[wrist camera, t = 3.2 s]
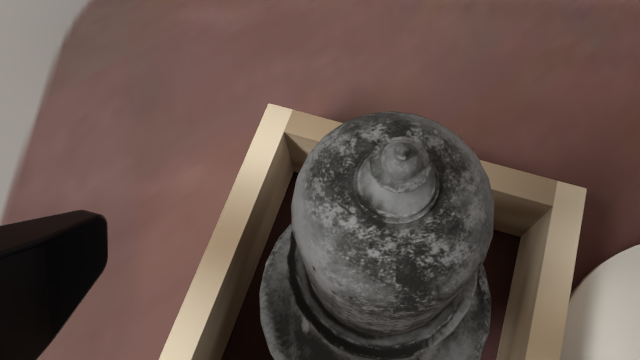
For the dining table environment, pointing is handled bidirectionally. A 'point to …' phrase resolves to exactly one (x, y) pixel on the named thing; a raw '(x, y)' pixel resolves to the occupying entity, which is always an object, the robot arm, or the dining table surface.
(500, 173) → the birch holder
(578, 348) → the coaster
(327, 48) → the dining table surface
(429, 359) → the grey tall domed piece
